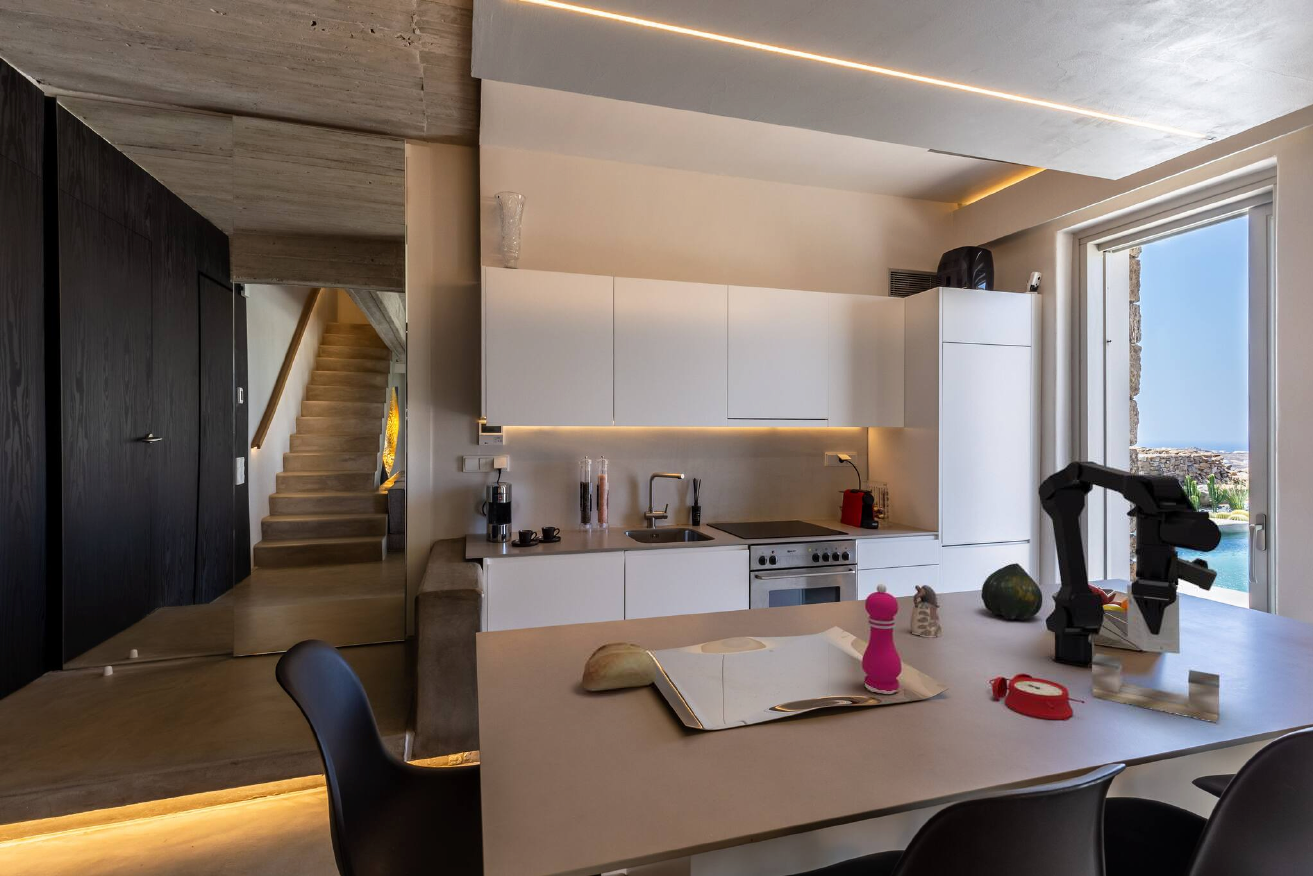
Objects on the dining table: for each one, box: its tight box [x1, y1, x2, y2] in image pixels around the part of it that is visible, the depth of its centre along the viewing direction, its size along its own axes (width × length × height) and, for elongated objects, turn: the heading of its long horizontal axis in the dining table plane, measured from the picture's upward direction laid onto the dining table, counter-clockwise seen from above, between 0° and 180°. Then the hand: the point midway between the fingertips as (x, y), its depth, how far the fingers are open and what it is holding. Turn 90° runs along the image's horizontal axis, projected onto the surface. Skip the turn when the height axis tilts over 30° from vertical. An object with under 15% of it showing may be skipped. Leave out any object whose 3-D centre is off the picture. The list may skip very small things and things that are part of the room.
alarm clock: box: [988, 672, 1085, 722], centre depth 118 cm, size 10×6×15 cm
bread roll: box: [581, 641, 657, 692], centre depth 126 cm, size 10×15×8 cm, turn 116°
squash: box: [981, 562, 1043, 621], centre depth 178 cm, size 14×15×15 cm
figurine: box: [909, 584, 942, 636], centre depth 161 cm, size 7×7×12 cm
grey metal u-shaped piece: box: [1091, 653, 1220, 724], centre depth 118 cm, size 18×8×6 cm, turn 49°
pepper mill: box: [861, 583, 903, 691], centre depth 125 cm, size 7×7×20 cm
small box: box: [1126, 584, 1181, 654], centre depth 120 cm, size 8×6×10 cm
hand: (1156, 628), depth 119 cm, fingers closed on small box, 9 cm apart
